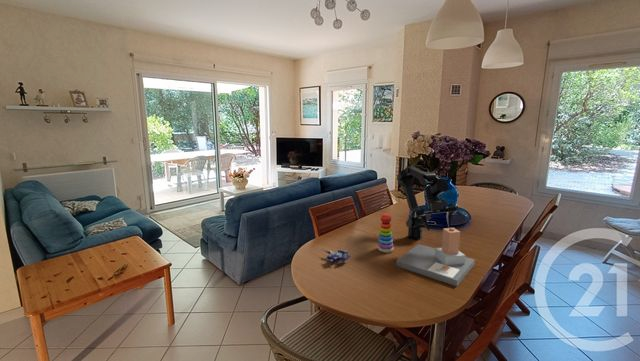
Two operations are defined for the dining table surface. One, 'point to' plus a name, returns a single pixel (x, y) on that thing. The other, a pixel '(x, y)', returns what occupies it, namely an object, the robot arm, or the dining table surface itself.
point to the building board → (434, 265)
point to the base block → (449, 257)
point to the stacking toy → (385, 235)
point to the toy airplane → (337, 256)
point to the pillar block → (450, 241)
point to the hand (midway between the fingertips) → (439, 229)
